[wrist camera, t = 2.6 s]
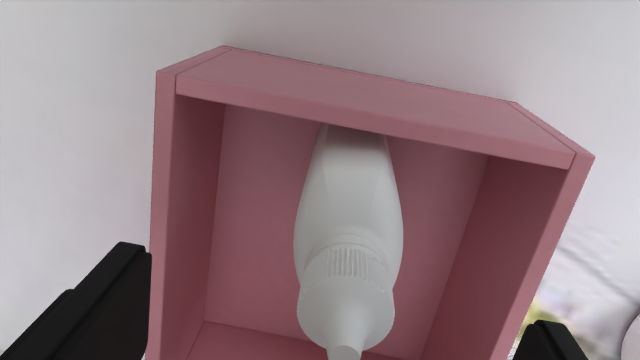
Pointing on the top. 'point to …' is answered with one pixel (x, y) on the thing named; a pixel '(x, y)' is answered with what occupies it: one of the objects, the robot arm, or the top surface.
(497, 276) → the pink open box
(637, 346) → the mug
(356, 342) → the eye dropper bottle
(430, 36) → the top surface
